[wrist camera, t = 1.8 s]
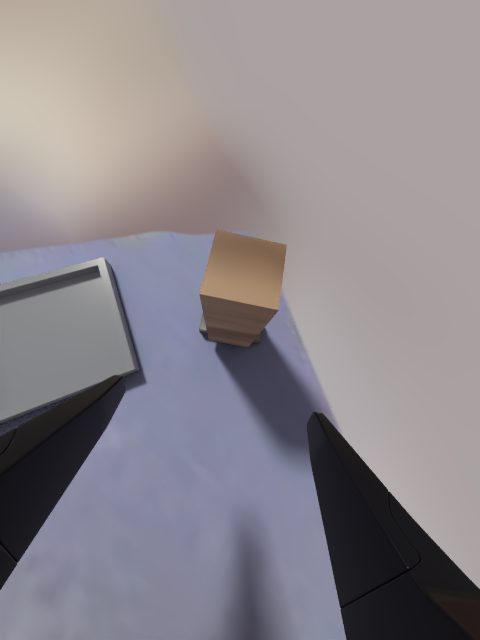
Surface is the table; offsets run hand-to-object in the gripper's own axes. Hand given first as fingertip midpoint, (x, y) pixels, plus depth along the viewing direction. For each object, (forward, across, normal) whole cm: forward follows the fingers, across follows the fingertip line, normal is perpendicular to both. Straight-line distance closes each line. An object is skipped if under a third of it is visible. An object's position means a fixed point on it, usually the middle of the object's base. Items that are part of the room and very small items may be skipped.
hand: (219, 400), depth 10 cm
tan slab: (+14, 0, +4) cm, 15 cm away
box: (+11, +18, +7) cm, 22 cm away
